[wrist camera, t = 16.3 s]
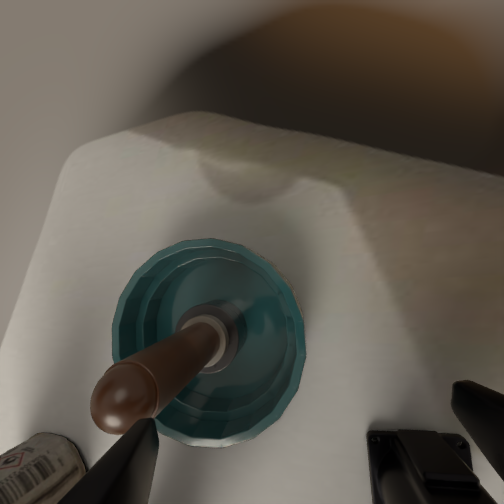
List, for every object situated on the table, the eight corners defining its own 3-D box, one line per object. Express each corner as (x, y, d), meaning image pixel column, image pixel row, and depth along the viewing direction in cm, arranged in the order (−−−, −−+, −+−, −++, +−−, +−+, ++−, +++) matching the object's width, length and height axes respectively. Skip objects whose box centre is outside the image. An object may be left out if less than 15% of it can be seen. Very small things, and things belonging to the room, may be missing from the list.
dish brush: (249, 359, 20) (173, 498, 8) (192, 359, 21) (42, 485, 8) (245, 298, 20) (168, 337, 8) (190, 300, 21) (43, 340, 9)
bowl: (309, 413, 19) (313, 454, 15) (149, 407, 22) (112, 442, 17) (296, 239, 21) (296, 230, 16) (146, 251, 23) (110, 246, 19)
